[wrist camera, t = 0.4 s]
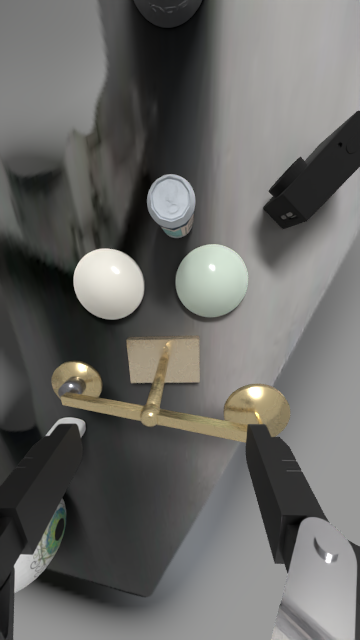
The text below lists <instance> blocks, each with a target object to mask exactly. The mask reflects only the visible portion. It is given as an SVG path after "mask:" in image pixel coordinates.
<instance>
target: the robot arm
mask: <svg viewBox="0 0 360 640" xmlns="http://www.w3.org/2000/svg"><path fill="white" fill-rule="evenodd" d="M134 2H135V5H136V6H137V8H138V9H139V11H140V13H141V14H142V15H143V16H144V17H145V18H146V19H147V20H148V21H150V22H151V23H153V24H154V25H157V26H160V27H164V28H171V27H176V26H179V25H181V24H183V23H185V22H186V21H187V20H188V19H190V18H191V17H192V16H193V15H194V13H195V12H196V11H197V9H198V8H199V6H200V4H201V2H202V0H134ZM82 456H83V446H82V441H81V437H80V432H79V427H78V425H77V424H58V425H57V426H56V428H55V429H54V430H53V431H52V433H51V434H50V435H49V436H45V437H44V438H42V439H41V440H40V441H38V442H37V443H36V444H35V445H34V446H33V447H32V448H31V449H30V450H29V452H28V453H27V454H26V455H25V458H24V459H22V460H21V462H20V463H19V464H18V465H17V468H16V469H14V470H13V472H12V473H11V474H10V475H9V476H8V478H7V479H6V480H5V481H4V483H3V484H2V485H1V486H0V640H13V623H14V585H15V568H14V565H15V563H16V561H17V560H18V558H19V556H20V554H24V555H33V554H34V552H35V550H36V548H37V546H38V544H39V542H40V540H41V538H42V536H43V534H44V532H45V530H46V528H47V527H48V525H49V523H50V521H51V519H52V517H53V515H54V513H55V511H56V509H57V507H58V505H59V503H60V501H61V499H62V498H63V496H64V494H65V492H66V490H67V488H68V486H69V484H70V482H71V480H72V478H73V476H74V474H75V472H76V470H77V468H78V467H79V465H80V462H81V460H82ZM246 460H247V464H248V469H249V472H250V476H251V479H252V483H253V487H254V490H255V494H256V497H257V501H258V505H259V508H260V511H261V515H262V519H263V523H264V526H265V530H266V533H267V537H268V540H269V544H270V548H271V551H272V555H273V558H274V562H275V563H277V564H285V567H286V570H287V573H288V576H287V580H286V584H285V589H284V593H283V597H282V601H281V604H280V606H279V610H278V614H277V618H276V622H275V626H274V630H273V634H272V638H271V640H360V546H357V545H355V544H354V543H352V542H350V541H349V540H347V539H346V537H345V536H344V535H343V534H342V533H341V532H340V531H339V530H338V529H337V528H336V527H335V526H333V525H332V524H330V522H329V521H328V520H327V518H326V516H325V515H324V513H323V511H322V509H321V507H320V505H319V503H318V501H317V499H316V497H315V495H314V494H313V492H312V490H311V488H310V486H309V484H308V482H307V480H306V478H305V476H304V474H303V472H301V468H300V467H299V465H298V463H297V462H296V459H295V457H294V455H293V453H292V451H291V449H290V447H289V446H288V445H287V444H286V443H285V442H284V441H283V440H282V439H281V438H280V437H271V435H270V433H269V430H268V428H267V426H266V425H265V424H248V426H247V438H246Z"/></svg>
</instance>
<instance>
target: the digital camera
mask: <svg viewBox="0 0 360 640" xmlns="http://www.w3.org/2000/svg"><path fill="white" fill-rule="evenodd" d="M359 167H360V111H357V112H356V113H355V114H354V115H352V116H351V117H350V118H349V119H348V120H347V121H346V122H345V123H343V124H342V125H341V126H340V127H339V128H338V129H337V130H336V131H334V132H333V133H332V134H331V135H330V136H329V137H328V138H326V139H325V140H324V141H323V142H322V143H321V144H320V145H319V146H318V147H317V148H316V149H315V150H314V151H313V153H312V154H311V155H310V156H309V157H308V158H307V159H306V160H305V161H304V160H303V159H302V158H301V157H300V158H298V159H297V160H296V161H295V162H294V163H293V164H292V165H291V166H290V167H289V168H288V169H287V171H286V172H285V173H284V174H283V175H282V176H281V177H280V178H279V179H278V180H277V181H276V183H275V184H274V185H273V186H272V187H271V188H270V190H269V192H270V193H271V194H272V195H273V197H272V198H271V199H270V201H269V202H268V203H267V204H266V205H265V206H264V210H265V211H266V212H267V213H268V214H269V215H270V216H271V217H272V218H273V219H274V220H275V221H276V222H277V223H278V224H279V225H280V226H281V227H282V228H283V229H284V228H287V227H290V226H293V225H296V224H299V223H302V222H305V221H307V220H308V219H309V218H310V217H311V216H312V215H313V214H314V213H315V212H316V211H317V210H318V209H319V208H320V207H321V206H322V205H323V204H324V203H325V202H326V201H327V200H328V199H329V198H330V197H331V196H332V195H333V194H334V193H335V192H336V191H337V189H338V188H339V187H340V186H341V185H342V184H343V183H344V182H345V181H346V180H347V179H348V178H349V177H350V176H351V175H352V174H353V173H354V172H355V171H356V170H357V169H358V168H359Z"/></svg>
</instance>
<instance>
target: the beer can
mask: <svg viewBox="0 0 360 640" xmlns="http://www.w3.org/2000/svg"><path fill="white" fill-rule="evenodd" d="M147 206H148V210H149V213H150V215H151V217H152V218H153V219H154V221H155V222H157V223H158V224H159V225H160V227H161V228H162V229H163V230H164V232H165V233H166V234H167V235H168V236H170V237H173V238H180V237H183V236H185V235H187V234H188V233H189V232H190V230H191V228H192V226H193V218H194V209H195V194H194V191H193V189H192V187H191V185H190V184H189V182H188V181H187V180H185V179H184V178H182V177H181V176H178V175H174V174H168V175H164V176H162V177H160V178H158V179H157V180H156V181H155V182H154V183H153V184H152V186H151V188H150V190H149V192H148V196H147Z"/></svg>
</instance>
